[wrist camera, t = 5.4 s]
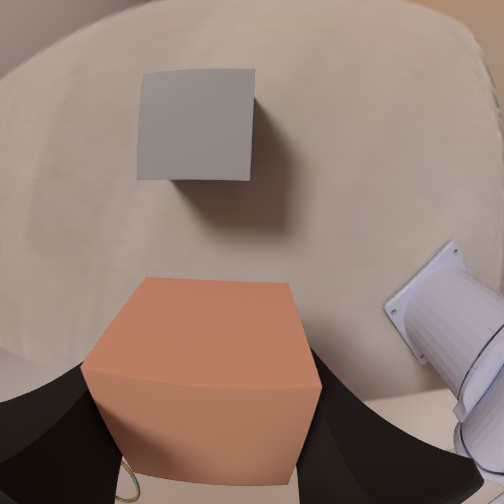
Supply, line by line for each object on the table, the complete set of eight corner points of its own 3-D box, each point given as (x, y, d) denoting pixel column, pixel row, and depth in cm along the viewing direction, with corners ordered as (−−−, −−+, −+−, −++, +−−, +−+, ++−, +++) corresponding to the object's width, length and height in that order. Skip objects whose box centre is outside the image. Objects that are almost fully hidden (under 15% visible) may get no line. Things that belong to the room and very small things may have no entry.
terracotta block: (287, 283, 10) (322, 387, 5) (275, 385, 11) (287, 484, 6) (146, 277, 9) (80, 366, 5) (161, 379, 11) (133, 472, 6)
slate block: (252, 95, 15) (255, 69, 10) (248, 175, 16) (249, 180, 12) (170, 96, 15) (142, 74, 10) (166, 174, 16) (136, 180, 11)
